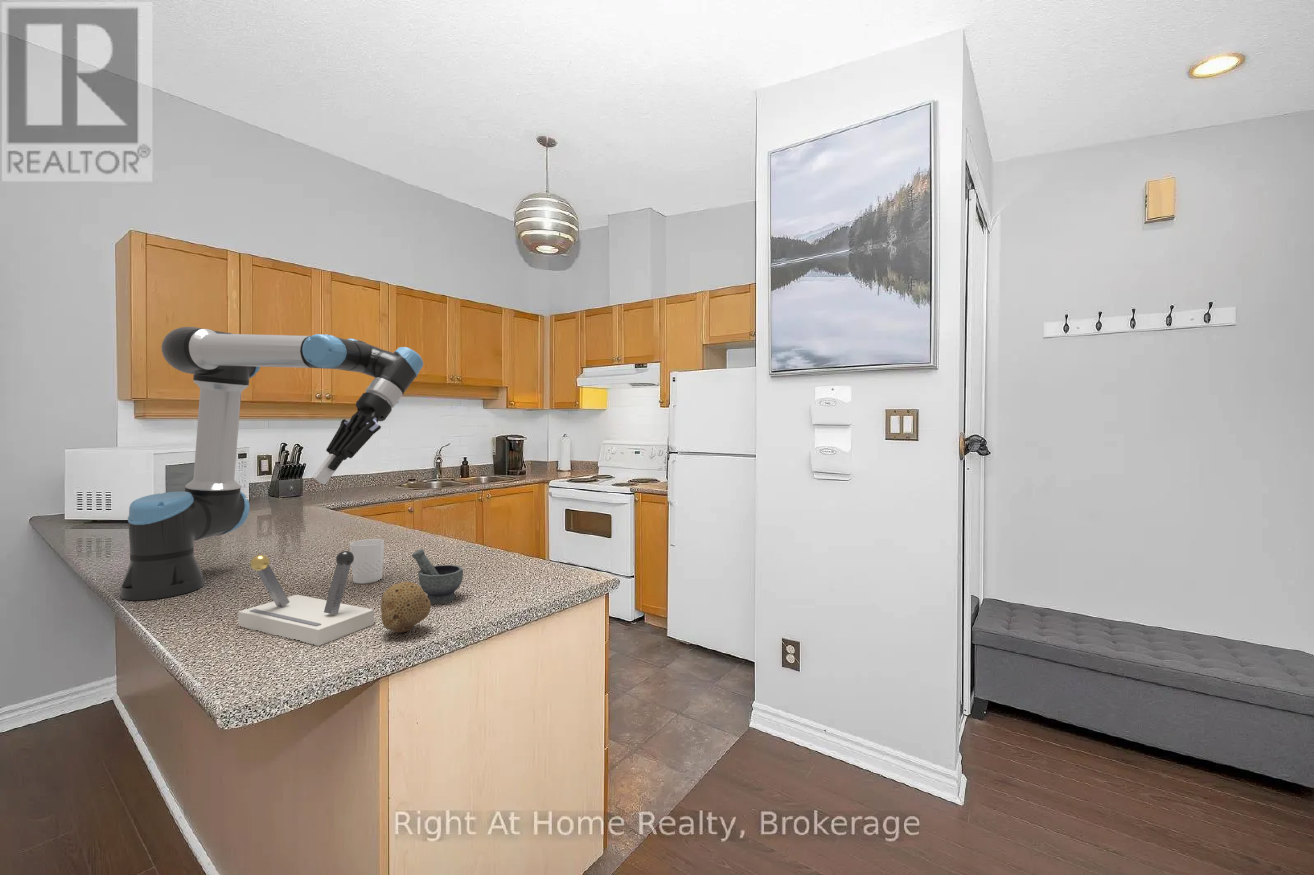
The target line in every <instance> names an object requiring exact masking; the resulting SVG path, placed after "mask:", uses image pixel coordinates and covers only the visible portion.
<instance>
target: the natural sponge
mask: <svg viewBox="0 0 1314 875" xmlns="http://www.w3.org/2000/svg"><path fill="white" fill-rule="evenodd" d="M427 595H428V594H426V593H425V592H424V591H423V589H422V587H421V585H420V586H419V585H418V584H417V583H415V582H412V581H409V580H408V581H406V580H404V581H402V582H398V583H395V584H393V585H391V586H389V587H388V588H387V589H386V590H385V592H384V593H383V594H382V596H381V601H380V611H381V614H380V615H381V622H382V625H383V627H384V628H385V629H387V630H390V631H394V632H395V633H397V634H402V633H407V632H408V631H410V630H412V629H413V628H414V626H416V625H417V624H419V623H421V622H422V621H424V620H425V619H426V618H427V617H428V616H429V614H430V612H431V606H432V605H431V604H432V603H430V600H429V599H428V597H427Z"/></svg>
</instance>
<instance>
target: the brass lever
mask: <svg viewBox="0 0 1314 875" xmlns="http://www.w3.org/2000/svg"><path fill="white" fill-rule="evenodd" d="M270 560H271V559H270V558H269V556H268V555H265V554H258V555H257V554H256V555H255V556H253V557H252V558H251V560H250V562H249V564H250V568H251V569H252V570H254V571H256V572H257V575H258V576H259V578H260V580H261V581H262V583H263V585H264V587H265V589H266V590H267V592H268V593H269V596H270V597H271V599H272V602H273V601H274V602H275V604H276V606H279V607H284V606H285V605H287V604H288V603H289V600H288V598H287V597H288V596H287V594H286V592H285V591H284V588H283V587H282V586H281V583H280V581H279V580H278V579H277V576H276V575H275V573H274V571H273V569H272V567H271V565H270Z"/></svg>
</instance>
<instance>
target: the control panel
mask: <svg viewBox="0 0 1314 875" xmlns="http://www.w3.org/2000/svg"><path fill="white" fill-rule="evenodd" d="M287 598H288V600H289V603H288V604H287V605H285V606H284V607H279V606H276V604H275V602H274V601H273V600H272V601H269V602H267V603H262V604H259V605H256V606H253V607H249V608H245V609H242V610H239V611H238V614H237V615H238V627H240V626H241V628H244V627H245V629H249V630H252V631H256V630H258V631H257V632H260V631H262V632H261V633H264V632H265V634H268V635H274V636H277V635H279V636H278V637H281V636H282V637H281V638H285V637H287V638H286V639H289V638H290V639H289V640H293V639H296V640H295V641H297V640H300V641H299V642H301V641H303V642H302V643H305V642H306V643H305V644H308V645H309V644H310V645H313V644H314V645H313V646H318V647H319V646H323V645H325V644H327V643H330V642H332V641H335V640H338V639H340V638H342V637H343V638H344V637H346V636H348V635H350V634H353V633H355V632H357V631H360V630H363V629H365V628H367V627H370V626H373V625H375V609H372V608H368V607H367V608H366V607H362V606H356V605H352V604H345V603H342V602H341V603H340V607H339V611H338V614H329V613H325V612H324V610H325V606H326V602H327V599H321V598H316V597H310V596H306V595H301V594H294V595H290V596H287Z"/></svg>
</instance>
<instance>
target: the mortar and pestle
mask: <svg viewBox="0 0 1314 875" xmlns="http://www.w3.org/2000/svg"><path fill="white" fill-rule="evenodd" d="M411 556H412V558H413V559H415V562H416V563H417V565H418V567H419V569H420V570H418V581H419V582H418V583H419V585H420V587H421V588H422V589H423V591H424V592H425V594H426V595H427V597H428V599H429V600H430V603H431V604H434V605H435V604H446V603H450V602H452V601H454V600H455V599H456V593H455V592H456V591H457V590H458V589H459V588H460V585H461V584H462V582H463V579H464V578H463V577H464V569H463V567H462V566H460V565H454V564H438V565H433V564H432V563H431V561H430V559H429V558H428V557H427V556H426V554H425V551H424V549H423V548H420V549H417V550H416V551H415V552H413V553H412V554H411Z"/></svg>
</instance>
